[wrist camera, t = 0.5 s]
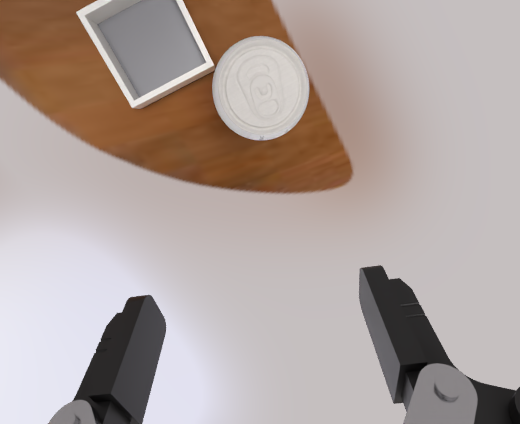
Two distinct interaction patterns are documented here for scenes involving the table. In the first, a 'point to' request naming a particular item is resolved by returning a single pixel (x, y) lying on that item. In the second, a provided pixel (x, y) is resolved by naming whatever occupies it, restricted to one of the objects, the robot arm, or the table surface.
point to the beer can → (260, 88)
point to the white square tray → (147, 46)
